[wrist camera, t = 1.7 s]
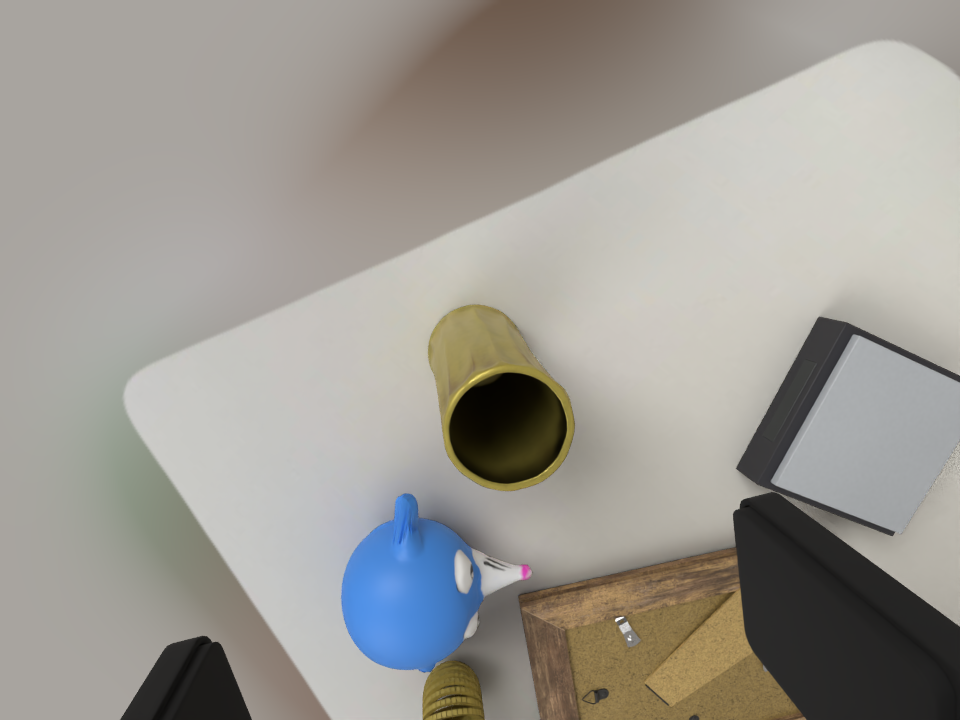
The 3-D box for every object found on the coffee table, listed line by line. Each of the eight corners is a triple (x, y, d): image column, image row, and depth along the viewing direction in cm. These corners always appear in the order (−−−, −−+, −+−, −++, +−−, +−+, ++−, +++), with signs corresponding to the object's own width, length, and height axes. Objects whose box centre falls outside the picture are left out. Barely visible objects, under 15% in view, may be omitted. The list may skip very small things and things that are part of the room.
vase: (504, 406, 35) (555, 517, 21) (415, 381, 34) (410, 481, 20) (534, 320, 34) (609, 379, 20) (443, 291, 33) (458, 333, 19)
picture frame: (821, 525, 40) (517, 593, 39) (839, 539, 38) (521, 610, 37) (823, 718, 45) (552, 784, 43) (840, 737, 43) (557, 807, 42)
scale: (817, 316, 36) (853, 323, 33) (950, 378, 38) (994, 390, 35) (734, 468, 38) (761, 488, 35) (864, 518, 40) (900, 541, 37)
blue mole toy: (527, 605, 39) (554, 703, 31) (365, 632, 38) (350, 740, 30) (512, 456, 36) (538, 521, 28) (337, 481, 35) (312, 556, 27)
